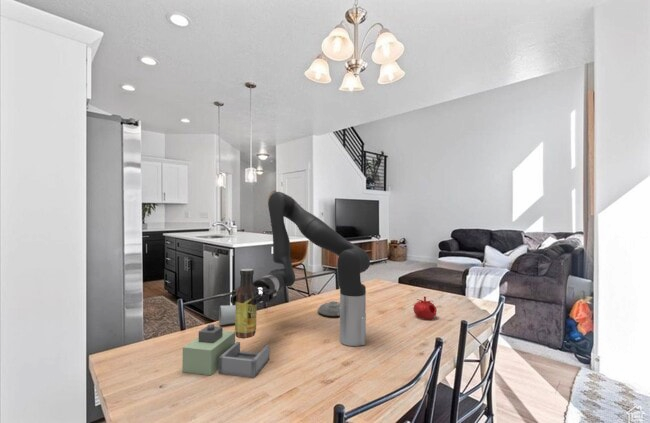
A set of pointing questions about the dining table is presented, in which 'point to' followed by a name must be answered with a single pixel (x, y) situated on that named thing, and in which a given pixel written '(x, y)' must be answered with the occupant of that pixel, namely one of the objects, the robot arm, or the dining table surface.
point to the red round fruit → (425, 309)
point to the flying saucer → (330, 309)
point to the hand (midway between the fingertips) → (242, 301)
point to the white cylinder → (227, 315)
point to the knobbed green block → (221, 355)
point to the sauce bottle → (245, 306)
